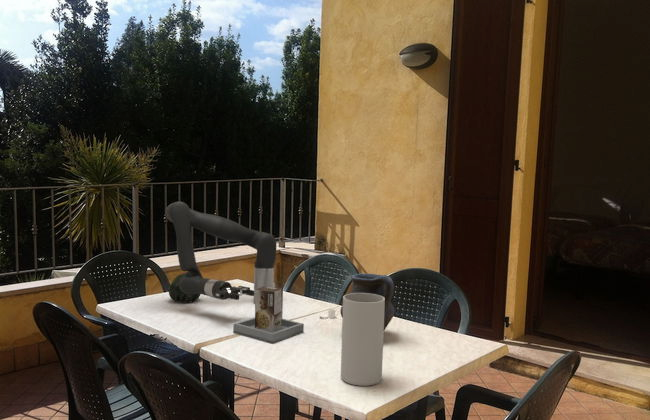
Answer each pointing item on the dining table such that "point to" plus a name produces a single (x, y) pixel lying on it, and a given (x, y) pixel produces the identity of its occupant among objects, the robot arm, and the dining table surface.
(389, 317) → the pitcher
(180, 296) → the squash
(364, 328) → the cylinder vase
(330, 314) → the teacup and saucer
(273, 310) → the coffee box
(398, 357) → the dining table surface
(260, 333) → the tray
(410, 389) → the dining table surface
